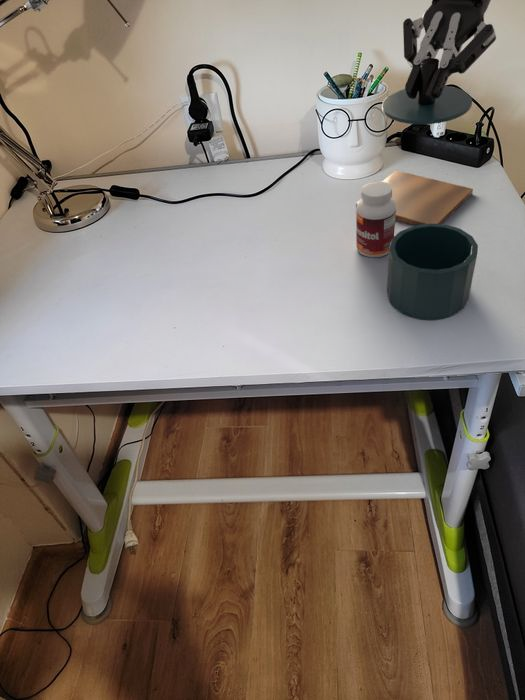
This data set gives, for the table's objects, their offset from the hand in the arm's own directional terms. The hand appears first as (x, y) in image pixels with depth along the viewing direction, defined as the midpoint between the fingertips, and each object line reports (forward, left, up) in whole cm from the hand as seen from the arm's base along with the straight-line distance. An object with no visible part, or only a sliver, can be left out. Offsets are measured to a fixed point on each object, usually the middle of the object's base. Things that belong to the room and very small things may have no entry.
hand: (420, 97), depth 72 cm
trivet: (+4, -9, -22) cm, 24 cm away
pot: (-11, +13, -22) cm, 28 cm away
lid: (0, -2, -2) cm, 3 cm away
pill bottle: (+2, +7, -22) cm, 24 cm away
